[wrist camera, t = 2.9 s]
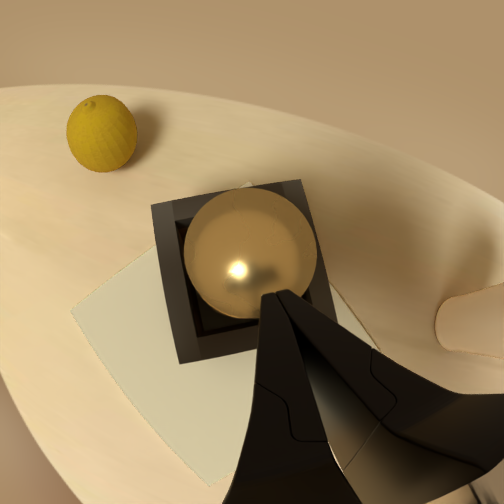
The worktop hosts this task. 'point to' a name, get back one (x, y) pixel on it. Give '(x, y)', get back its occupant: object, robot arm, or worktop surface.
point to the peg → (248, 250)
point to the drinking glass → (473, 322)
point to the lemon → (101, 133)
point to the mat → (177, 367)
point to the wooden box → (183, 291)
